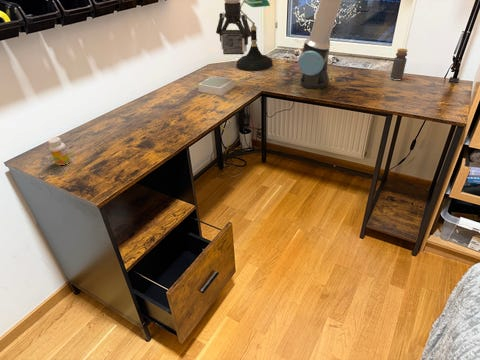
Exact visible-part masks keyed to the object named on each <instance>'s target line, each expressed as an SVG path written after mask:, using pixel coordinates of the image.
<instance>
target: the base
mask: <svg viewBox="0 0 480 360" xmlns="http://www.w3.org/2000/svg"><path fill="white" fill-rule="evenodd" d="M197 86H198V92H199V93H204V94H209V95H215V96H223V95H225V94H226V93H227V92H229V91H231V90H232V89H233V88H235V87H236V81H235V78H229V77H224V76H223V77H221V76H216V75H215V76H214V75H212V76H211V77H209V78H207V79H205V80H203V81H202V82H200V83H198V84H197Z"/></svg>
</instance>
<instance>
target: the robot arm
mask: <svg viewBox="0 0 480 360" xmlns="http://www.w3.org/2000/svg"><path fill="white" fill-rule="evenodd" d="M240 1H241V0H224V4H223V5H224V11H225V12H221V13H219V19H218V23H217V27H216V31H215V33H216V34H218V35H219V42H221V43H220V44H221V50H223V37H222V32H223V31H224V30H228V27H229V26H230V24H233V25H235V26H237V28H238V30H240V32H241V33H242V35H243V37H244V38H242V42H243V52H244V53H246V52H247V51H248V48H247V46H248V45H249V38H251V36H252V34H251V27H250V26H249V21H248V19H247V17H248V15H247V14H245V13H244V14H245V15H243V14H242V13H241V11H242V7H241V4H242V2H240ZM342 1H343V0H320V1H319V5H318V6H317V7H318V8H317V11H316V14H315V18H314V21H313V25H312V29H311V32H310V35H309V38H306V39H305V41H304V44H303V48H302V50H301V54H300V55H299V57H298V61H297V67H298V68H299V70H300V71H301V73H302V74H301V77H300V80H299V85H300V86H301V87H303V88H305V89H309V90H319V88H321V89H325V88H327V87H329V85H330V77H329V73H328V64H329V54H330V47H331V41H330V38H331V34H332V32H333V28H334V26H335V22H336V19H337V16H338V14H339V11H340V7H341V4H342ZM224 20H225V21H224ZM324 87H325V88H324Z"/></svg>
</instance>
